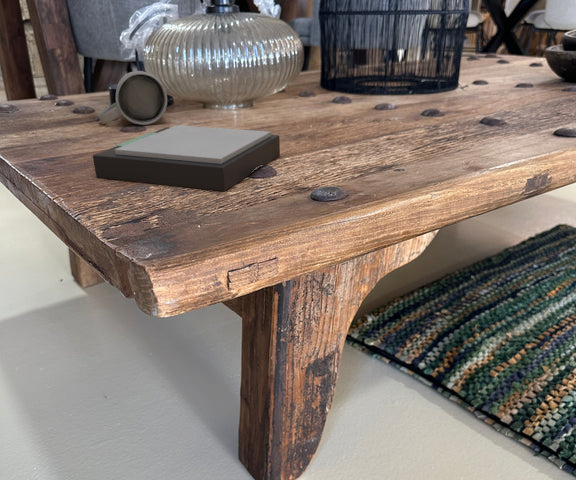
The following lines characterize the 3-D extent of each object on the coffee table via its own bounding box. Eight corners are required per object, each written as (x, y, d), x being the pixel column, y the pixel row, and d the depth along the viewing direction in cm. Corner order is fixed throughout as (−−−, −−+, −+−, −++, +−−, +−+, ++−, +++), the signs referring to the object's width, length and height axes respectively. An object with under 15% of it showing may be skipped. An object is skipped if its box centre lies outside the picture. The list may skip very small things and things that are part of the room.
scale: (96, 177, 63) (91, 149, 62) (168, 146, 76) (165, 122, 74) (224, 191, 58) (222, 161, 57) (280, 155, 70) (279, 130, 69)
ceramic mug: (164, 113, 96) (157, 65, 92) (170, 123, 89) (164, 70, 85) (98, 120, 93) (89, 70, 89) (100, 130, 86) (90, 76, 82)
